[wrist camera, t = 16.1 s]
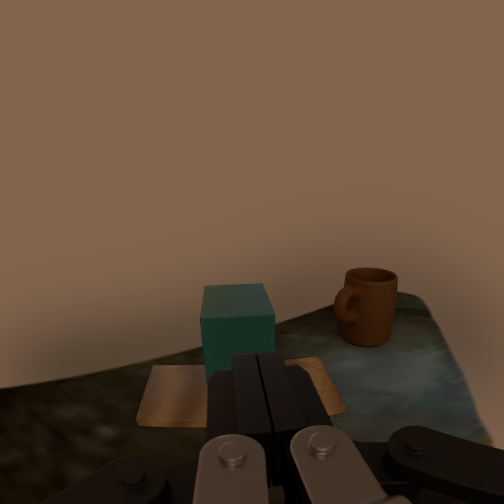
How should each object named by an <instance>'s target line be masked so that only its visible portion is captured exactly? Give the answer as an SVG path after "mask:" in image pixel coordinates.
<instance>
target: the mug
mask: <svg viewBox="0 0 504 504" xmlns="http://www.w3.org/2000/svg"><path fill="white" fill-rule="evenodd" d="M397 283H398V277H397V275H396V274H395V273H393V272H391V271H388V270H384V269H378V268H356V269H351V270H349V271H347V273H346V276H345V283H344V288H342V289H341V290H340V291H339V292H338V294H337V296H336V298H335V301H334V315H335V318H336V319H337V321H338V322H340V323H341V335H342V337H343V338H344V339H345V340H346V341H347V342H349V343H351V344H353V345H357V346H361V347H375V346H379V345H382V344H384V343H385V342H387V341H388V339H389V338H390V335H391V331H392V325H393V319H394V312H395V305H396V298H397Z"/></svg>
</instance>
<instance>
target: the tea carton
mask: <svg viewBox="0 0 504 504" xmlns="http://www.w3.org/2000/svg"><path fill="white" fill-rule="evenodd" d="M200 325H201V336H202V346H203V356H204V365H205V374H206V383H207V391H208V379H209V378H210V377H211V375H212V374H213V373H214V371H215V370H232V355H231V354H240V353H255V355H256V353H257V352H269V351H275V313H274V311H273V308H272V306H271V303H270V301H269V299H268V296H267V294H266V291H265V289H264V286H263V284H262V283H261V284H239V285H216V286H205V287H204V294H203V301H202V308H201V314H200Z"/></svg>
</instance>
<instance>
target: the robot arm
mask: <svg viewBox="0 0 504 504" xmlns="http://www.w3.org/2000/svg"><path fill="white" fill-rule="evenodd" d="M231 355H232V370H215V371H214V373H213V374H212V375H211V377H210V378H209V379H208V391H207V392H208V394H207V423H206V443H205V445H204V446H203V447H202V449H201V451H200V453H199V454H197V455H196V456H195V457H193V458H192V459H190V460H187V461H185V462H182V463H178V464H173V465H168V466H163V467H162V466H161V465H160V464H159V463H158V462H157V461H155V460H154V459H152V458H149V457H147V456H143V455H126V456H122V457H119V458H116V459H115V460H113V461H111V462H110V463H108V464H106V465H105V466H103V467H101V468H100V469H98V470H97V471H95V472H93V473H92V474H90V475H88V476H87V477H85V478H83V479H82V480H80V481H78V482H76V483H75V484H73V485H71V486H69V487H68V488H66V489H64V490H62V491H61V492H59V493H57V494H55V495H53V496H51V497H50V498H48V499H46V500H44V501H42V502H40V503H38V504H269V500H268V487H270V483H271V480H272V485H273V486H282V485H283V489H284V494H285V502H284V504H504V450H501V449H497V448H493V447H490V446H486V445H482V444H478V443H475V442H471V441H468V440H464V439H461V438H458V437H454V436H451V435H448V434H445V433H442V432H439V431H435V430H432V429H429V428H426V427H422V426H407V427H404V428H401V429H399V430H397V431H396V432H394V433H393V434H392V435H391V437H390V439H389V441H388V442H358V441H353V440H351V438H350V437H349V436H348V435H347V434H346V433H345V432H344V431H342V430H340V429H338V428H336V427H334V426H333V424H332V422H331V420H330V417H329V415H328V413H327V411H326V409H325V407H324V404H323V402H322V400H321V398H320V396H319V394H318V392H317V389H316V387H315V385H314V384H313V381H312V379H311V377H310V374H309V372H307V371H306V370H305V369H303V368H302V367H301V366H299V365H298V364H296V365H285V363H284V360H283V357H282V354H281V352H280V351H269V352H257V353H256V355H255V353H240V354H231ZM424 488H425V489H424ZM427 489H428V490H427ZM430 490H431V491H430ZM433 491H434V492H433ZM436 492H437V493H436ZM439 493H440V494H439ZM442 494H443V495H442ZM445 495H446V496H445ZM448 496H449V497H448ZM451 497H452V498H451ZM454 498H456V499H454Z"/></svg>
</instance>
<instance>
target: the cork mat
mask: <svg viewBox="0 0 504 504" xmlns="http://www.w3.org/2000/svg"><path fill="white" fill-rule="evenodd" d="M284 363H285V365H296V364H298V365H299V366H301V367H302V368H303V369H305V370H306V371H307V372H309V374H310V377H311V379H312V381H313V384H314V385H315V387H316V389H317V392H318V394H319V396H320V398H321V400H322V402H323V404H324V407H325V409H326V411H327V413H328V415H329V416H331V415H337V414H342V413H345V408H346V406H345V404H344V402H343V400H342V398H341V396H340V395H339V393H338V391H337V389H336V387H335V386H334V384H333V382H332V380H331V378H330V376H329V375H328V373H327V371H326V369H325V367H324V366H323V364H322V362H321V360H320V358H319V357H309V358H300V359H290V360H284ZM207 394H208V392H207V383H206V374H205V365H153V368H152V371H151V374H150V377H149V380H148V383H147V386H146V389H145V392H144V395H143V398H142V402H141V405H140V408H139V411H138V414H137V418H136V420H137V423H138V426H152V427H189V428H196V427H206V423H207Z"/></svg>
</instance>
